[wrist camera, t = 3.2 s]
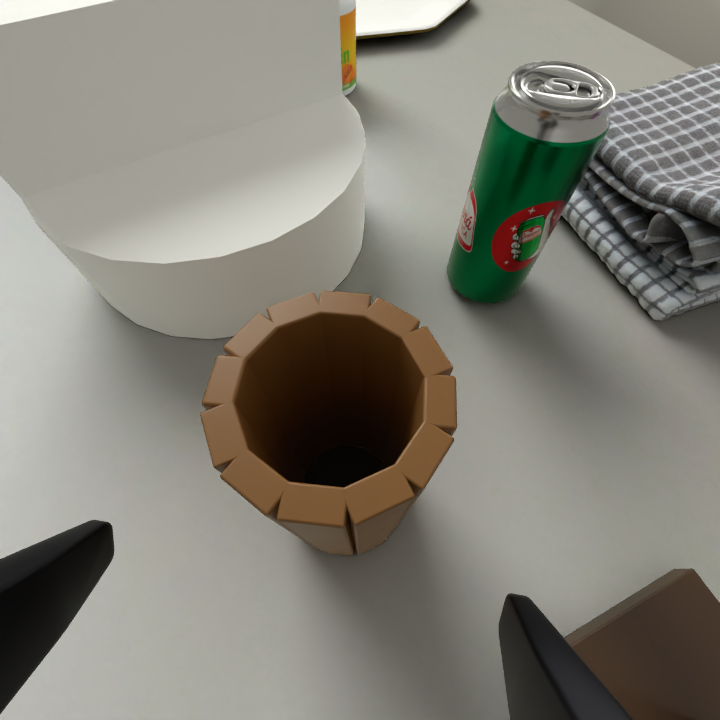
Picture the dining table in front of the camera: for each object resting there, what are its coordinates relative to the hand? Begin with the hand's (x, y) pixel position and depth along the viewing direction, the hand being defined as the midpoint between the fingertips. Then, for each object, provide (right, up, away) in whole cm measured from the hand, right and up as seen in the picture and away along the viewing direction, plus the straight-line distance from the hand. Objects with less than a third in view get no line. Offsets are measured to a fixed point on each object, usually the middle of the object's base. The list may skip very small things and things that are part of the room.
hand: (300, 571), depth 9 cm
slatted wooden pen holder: (+1, -2, +11) cm, 11 cm away
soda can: (+10, +10, +18) cm, 23 cm away
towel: (+25, +15, +21) cm, 36 cm away
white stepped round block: (-8, +15, +21) cm, 27 cm away
